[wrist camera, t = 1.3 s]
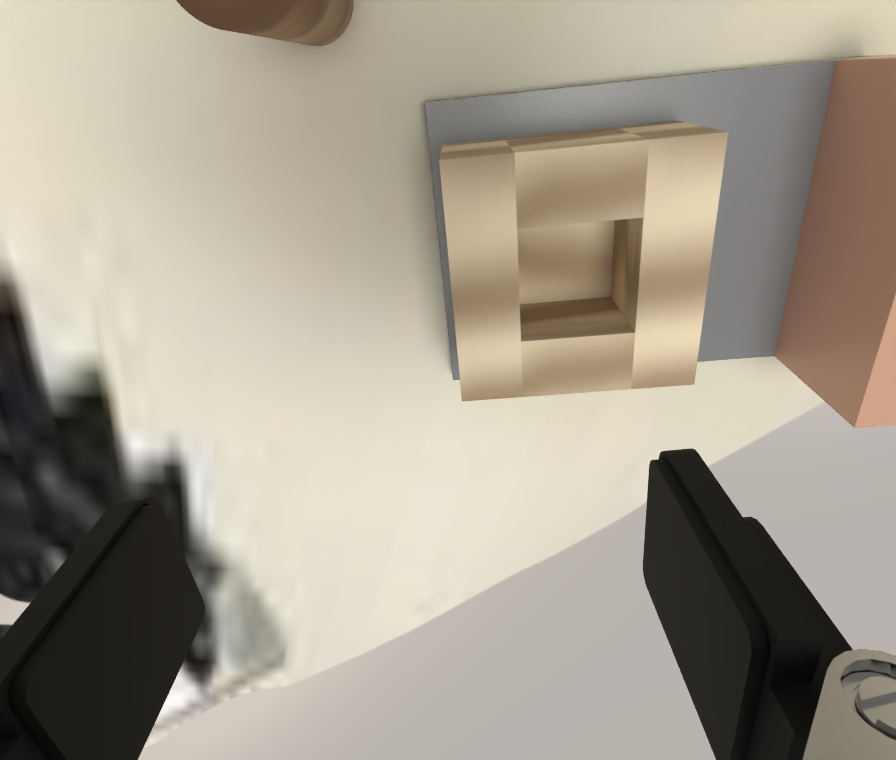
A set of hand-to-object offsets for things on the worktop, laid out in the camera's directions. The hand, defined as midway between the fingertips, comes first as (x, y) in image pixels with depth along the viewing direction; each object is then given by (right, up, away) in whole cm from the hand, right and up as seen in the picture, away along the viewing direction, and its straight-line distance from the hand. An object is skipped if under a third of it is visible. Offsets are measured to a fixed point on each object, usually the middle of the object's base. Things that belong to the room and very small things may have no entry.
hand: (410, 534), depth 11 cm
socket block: (+7, +10, +21) cm, 24 cm away
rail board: (+11, +11, +22) cm, 27 cm away
